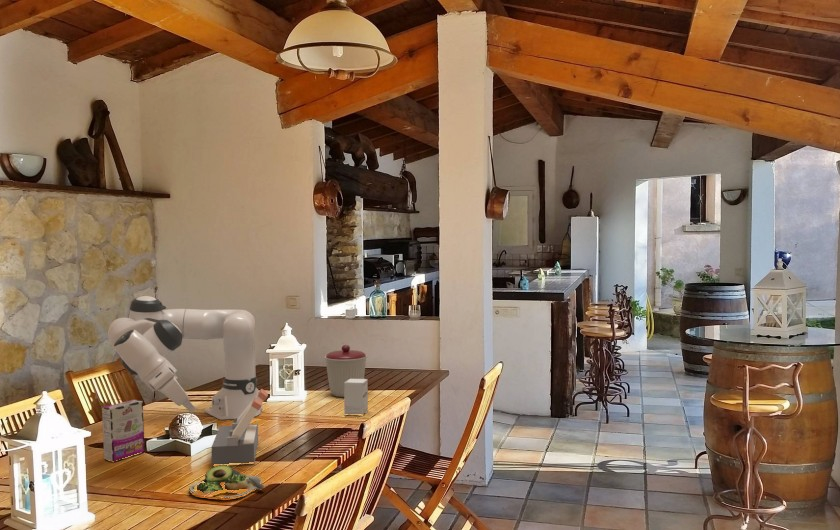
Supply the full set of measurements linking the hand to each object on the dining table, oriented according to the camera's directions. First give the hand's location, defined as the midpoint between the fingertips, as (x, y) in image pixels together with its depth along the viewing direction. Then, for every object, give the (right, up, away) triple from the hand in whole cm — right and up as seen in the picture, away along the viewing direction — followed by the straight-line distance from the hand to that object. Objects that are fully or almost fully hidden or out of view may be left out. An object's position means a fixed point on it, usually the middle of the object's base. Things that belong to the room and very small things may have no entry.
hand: (194, 411), depth 203 cm
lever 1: (+9, -8, +17) cm, 20 cm away
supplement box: (+43, -13, +57) cm, 72 cm away
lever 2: (+11, -9, +2) cm, 14 cm away
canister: (+36, -12, +87) cm, 95 cm away
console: (+10, -15, +10) cm, 21 cm away
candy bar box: (-24, -16, +8) cm, 30 cm away
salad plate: (+15, -17, -19) cm, 29 cm away
